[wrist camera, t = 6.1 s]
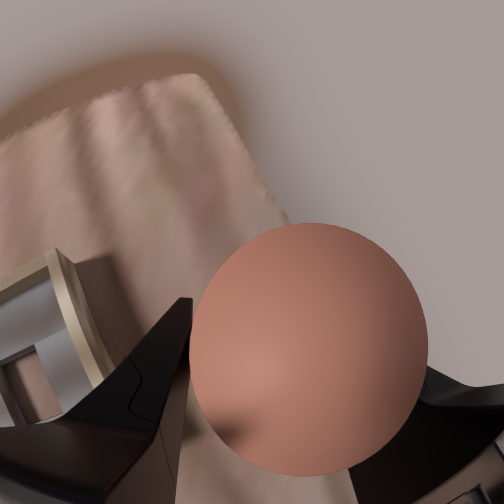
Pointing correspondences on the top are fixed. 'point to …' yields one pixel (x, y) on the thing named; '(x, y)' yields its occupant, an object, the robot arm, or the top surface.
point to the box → (49, 332)
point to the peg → (308, 350)
